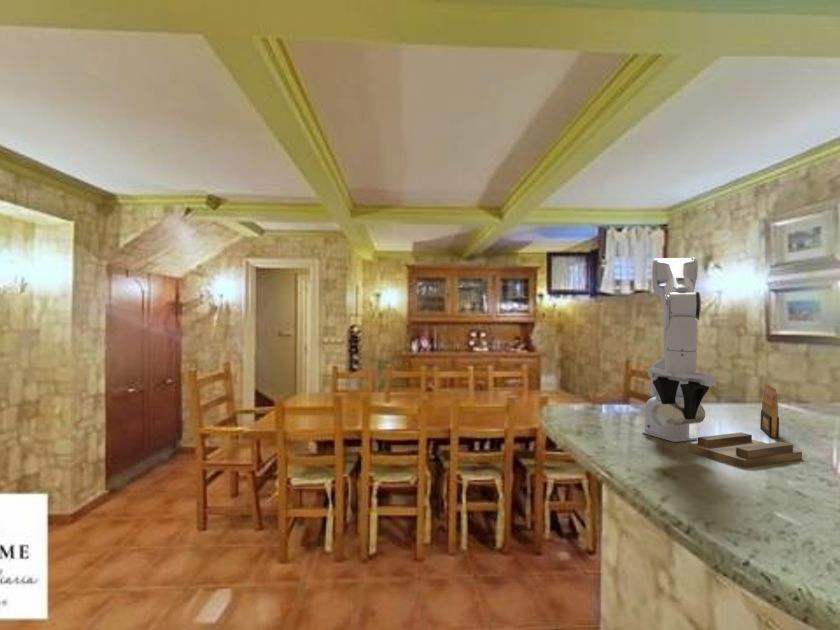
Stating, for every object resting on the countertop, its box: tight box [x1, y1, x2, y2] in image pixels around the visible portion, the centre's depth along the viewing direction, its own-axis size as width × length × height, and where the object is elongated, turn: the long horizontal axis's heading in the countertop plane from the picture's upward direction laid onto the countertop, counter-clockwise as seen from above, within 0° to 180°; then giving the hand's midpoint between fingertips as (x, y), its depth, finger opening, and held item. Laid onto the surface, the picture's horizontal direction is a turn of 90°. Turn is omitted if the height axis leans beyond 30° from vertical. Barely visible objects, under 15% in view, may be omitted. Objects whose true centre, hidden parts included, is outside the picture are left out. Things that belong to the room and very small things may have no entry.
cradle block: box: [688, 432, 803, 469], centre depth 104 cm, size 12×18×3 cm, turn 113°
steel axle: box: [651, 403, 706, 427], centre depth 101 cm, size 4×10×4 cm
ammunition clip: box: [759, 383, 780, 439], centre depth 124 cm, size 11×2×12 cm, turn 155°
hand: (679, 416), depth 101 cm, fingers closed on steel axle, 4 cm apart
